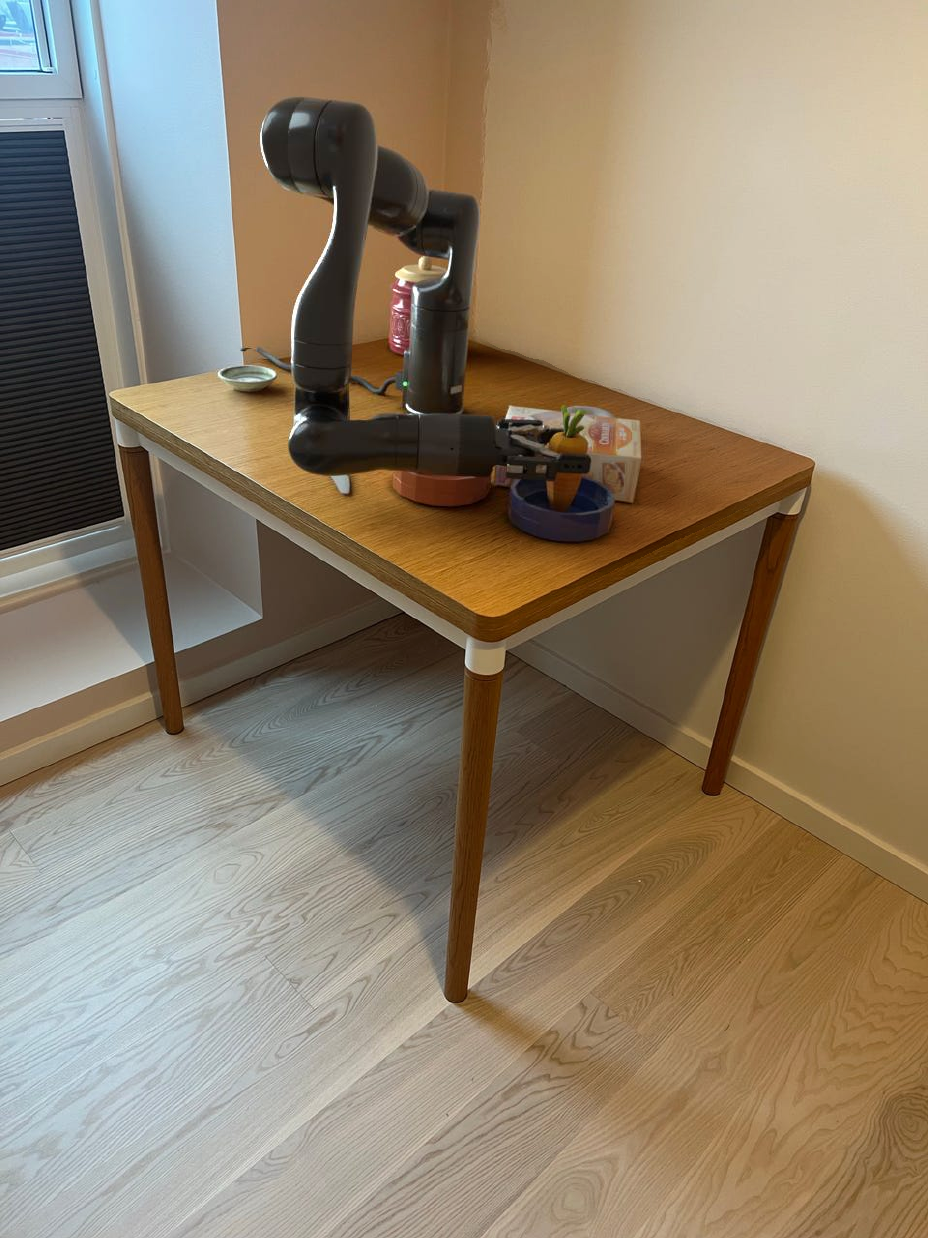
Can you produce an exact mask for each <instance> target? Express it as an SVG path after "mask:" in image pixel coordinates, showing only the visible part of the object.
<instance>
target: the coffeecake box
mask: <svg viewBox="0 0 928 1238" xmlns="http://www.w3.org/2000/svg"><path fill="white" fill-rule="evenodd" d="M575 414H576V413H570V419H569V425H570V423H571V421H572V419H573V417H574V416H575ZM504 419H520V420H541V421H543V425H547V426H549V427H550V429H551V428H557V429H564V426H563V414H562V412H561V411H559V410H552V409H551V410H549V409H541V408H534V407H524V406H515V405H511V404H510V405H509V406H508V409H507V413H506V415H505V418H504ZM578 426H584V427H585V428H584V429H583V430H581V431H580V432H579V434H580V435H581V436H582V437H584V438H585V439H586V440H587V441H588V450H587V455H589V456H590V458H591V465H590V471H589V472H588V473H587V474H583V475H582V476H585V477H587V478H590V479H593V480H596V481H598V482H600V483H602V484H603V485H605V486H606V487H608V488H609V489H611V491H612V493H613V495H614V496H615V502H616V501H617V502H624V503H631V504H634V499H635V495H636V491H637V486H638V481H639V475H640V469H641V464H642V441H641V440H642V439H641V420H640V419H639V420H637V419H628V418H618V417H615V418H610V417H602V416H593V415H584V416H583V418H582V419H581V420H580V422H579V423H578V424H577V426H576V428H577V427H578ZM548 447H549V443H548V444H547V446H545V448H546V450H548ZM544 458H546V457H544ZM546 466H547V465H546ZM505 475H506V467H504V466H499V465H495V466H494V478H493V487H503V488H511V485H512V484H513V483H514V481H515V480H516V479H510V478H506V477H505Z"/></svg>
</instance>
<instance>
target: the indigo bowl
mask: <svg viewBox="0 0 928 1238" xmlns="http://www.w3.org/2000/svg"><path fill="white" fill-rule="evenodd" d="M539 473H543V472H539ZM509 488H510V489H509V498H508V506H507V507H508V508H507V514H508V517H509V518H508V519H509V521H510V522H511V523H512V524H513V525H515V526H516V527H517V529H519V530H520V531H522V532H524V533H527V534H530V535H532V536H534V537H537V538H541V539H545V540H551V541H554V542H570V543H571V542H574V543H575V542H577V543H578V542H579V543H580V542H586V541H591V540H595V539H596V540H597V539H598V538H600V537H602V536H604V535H605V534H607V533H608V532H609V530H610V527H611V526H612V522H613V515H614V510H615V504H616V500H615V496H614V495H613V493H612V491H611V489H609V488H608V487H606V486H605V485H603V484H602V483H600V482H598V481H596V480H593V479H590V478H587V477H585V476H582V478H581V481H580V484H579V487H578V490H577V492H576V495H575V497H574V499H573V501H572V503H571V505H570V507H569V508H568V510H567V511H566V512H558V511H553V510H552V509H551V506H550V503H549V499H548V494H547V481H540V480H524V479H516V480H515V481H514V483H513V484H512V485H511V487H509Z"/></svg>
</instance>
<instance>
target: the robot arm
mask: <svg viewBox="0 0 928 1238" xmlns="http://www.w3.org/2000/svg"><path fill="white" fill-rule="evenodd" d="M260 148H261V153H262V157H263V161H264V164H265V166H266V168H267V170H268V172H269V174H270V175H271V177H272V178H273V179H274V180H275V182H276V183H277V184H278V185H279V186H280V187H282V188H283V189H284V190H286V191H288V192H290V193H294V194H298V195H306V196H310V197H313V198H317V199H320V200H322V201H325V202H327V203H328V204H330V205H331V206H333V220H332V226H331V231H330V234H329V238H328V239H327V243H326V245H325V247H324V249H323V252H322V253H321V255H320V258H319V259H318V262H317V263H316V265H315V266H314V268H313V270H312V271H311V273H310V274H309V276H308V278H307V279H306V281H305V283H304V285H303V286H302V288H301V289H300V292H299V294H298V296H297V298H296V301H295V304H294V307H293V310H292V317H291V326H290V327H291V328H290V340H291V341H290V364H287V363H285V362H283V361H281V360H279V359H278V358H277V357H276V356H275V355H273V354H271V353H268V352H267V351H266V350H264V349H262V348H261V347H260V346H258V348H257V351H256V350H254V352H257V353H258V354H260V355H261V356H262V357H264V358H266V359H268V360H269V361H271V362H273V363H274V364H275V365H276V366H278V367H280V368H282V369H284V370H287V371H290V372H291V378H292V382H293V384H294V398H293V399H294V404H293V406H294V408H293V421H292V427H291V430H290V432H289V435H288V440H287V448H288V453H289V457H290V459H291V460H292V462H293V463H294V464H295V465H296V466H297V467H298V468H299V469H301V470H302V471H305V472H306V473H309V474H310V475H311V474H312V475H316V476H323V477H324V476H325V477H331V476H341V475H347V476H348V475H349V476H350V475H356V474H365V473H371V472H376V471H386V472H387V471H388V472H393V471H404V472H416V471H417V472H420V473H427V474H432V475H445V476H469V477H489V476H490V475H491V474H493V472H494V468H495V465H499V466H504V467H506V475H505V477H506V478H510V479H524V480H540V481H555V477H556V475H558V473H579V474H587V473H588V472H589V471H590V465H591V458H590V456H589V455H586V454H564V453H561V454H559V453H555V452H552V451H549V450H546V448H545V446H547V444H548V443H549V442H550V440H551V438H552V437H553V436H554V435H555V434H556V433H559V432H564V429H557V428H551V429H550V427H549V426H547V425H543V421H541V420H520V419H505V418H498V419H497V422H496V420H495V418H494V417H493V415H487V414H486V415H485V414H469V413H468V414H466V413H465V414H464V397H465V387H466V386H465V383H466V369H467V357H468V343H469V330H470V317H471V316H470V315H471V304H472V303H471V302H472V293H473V286H474V280H475V269H476V259H477V250H478V244H479V236H480V227H481V211H480V210H481V209H480V205H479V202H478V199H477V198H476V197H475V196H473V195H472V194H469V193H461V192H455V191H446V190H438V189H431V188H429V187H428V184H427V181H426V179H425V177H424V175H423V173H422V172H421V171H420V170H419V169H418V168H417V167H416V166H415V164H413V163H412V162H411V161H409V159H407V158H406V157H404V156H403V155H402V154H400V153H398V152H396V151H395V150H393V149H392V148H391V149H390V148H389V147H385V146H383V145H379V144H378V133H377V127H376V124H375V120H374V118H373V116H372V114H371V112H370V111H369V109H368V108H367V107H366V106H364V105H363V104H361V103H358V102H353V101H345V100H338V99H337V100H336V99H335V100H334V99H325V98H315V97H308V96H290V97H287V98H283V99H281V100H279V101H278V102H276V103H275V104H274V105H272V107H271V108H270V109H269V110H268V112H267V113H266V115H265V117H264V119H263V122H262V125H261V130H260ZM369 227H370V228H371V229H373V230H376V231H377V232H380V233H382V234H384V235H387V236H390V237H393V238H395V239H397V241H399V242H400V243H401V244H402V245H403V246H404V247H405V248H407V249H408V250H409V251H410V252H412V253H414V254H416V255H419V256H421V257H423V256H428V257H430V258H435V259H441V260H448V265H447V267H446V270H447V271H446V272H445V273H443V274H442V275H439V276H437V277H433V278H429V279H424V280H421V281H418V282H416V283H415V284H414V285H413V287H412V293H411V317H410V343H409V349H407V350H405V352H404V355H403V370H401V371H399V372H398V371H397V372H396V373H395V376H392V377H390V378H388V379H386V380H385V381H384V382H383V384H382V386H381V387H380V388H376V387H374V386H373V385H372V384H371V383H370V382H369V381H368V380H366V379H364V378H362V377H360V376H355V375H352V363H353V339H354V336H353V335H354V318H355V306H356V299H357V298H356V297H357V289H358V285H359V278H360V274H361V273H360V272H361V267H362V262H363V256H364V250H365V247H366V246H365V245H366V239H367V235H368V229H369ZM247 350H252V349H251V348H242V347H240V349H239V351H240V352H246V351H247ZM350 382H354V383H359V384H361V385H363V386H364V387H365V388H366V389H367V390H369V391H370V392H372V393H373V394H375V395H378V396H379V395H384V394H385V393H386V391H387V390H388V388H389V386H390V385H392V384H394V386H395V387H394V390H397V391H400V392H402V402H401V405H402V406H401V408H402V409H405V411H406V413H405V412H404V413H403V412H402V413H401V412H399V413H398V412H381V413H377V414H375V415H373V416H372V418H368V419H351V412H350V411H351V408H350V407H351V405H350V404H351V403H350ZM578 434H579V432H578ZM579 435H580V434H579ZM544 457H546V458H544ZM546 465H547V466H546ZM539 472H543V473H539ZM491 476H492V475H491Z"/></svg>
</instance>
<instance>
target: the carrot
mask: <svg viewBox="0 0 928 1238" xmlns="http://www.w3.org/2000/svg"><path fill="white" fill-rule="evenodd" d="M567 408H568V407H567V405H566V404H564V405H562V406H561V407H560V410H561V411H562V414H563V426H564V432H559V433H556V434H555V435H554V436H553V437H552V438H551V440H550V442H549V447H548V450H549V451H552V452H555V453H559V454H561V453H564V454H586V455H587V450H588V441H587V440H586V439H585V438H584V437H582V436H581V435H579V434H578V432H580V431H581V430H583V429H584V428H585V427H584V426H578V427H577V428H576V426H577V424H578V423H579V422H580V420H581V419H582V418H583V416H584V414H585V413H586V412H585V411H583V410H582V409H579V410H578V412H577V413H576V414H575V416H574V417H573V419H572V421H571V423H570V425H569V419H570V413H569V412H568V411H567ZM582 475H583V474H579V473H558V475H556V477H555V481H547V494H548V499H549V503H550V506H551V509H552V510H553V511H558V512H566V511H567V510H568V508H569V507H570V505H571V503H572V501H573V499H574V497H575V495H576V492H577V490H578V487H579V484H580V481H581V478H582Z"/></svg>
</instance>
